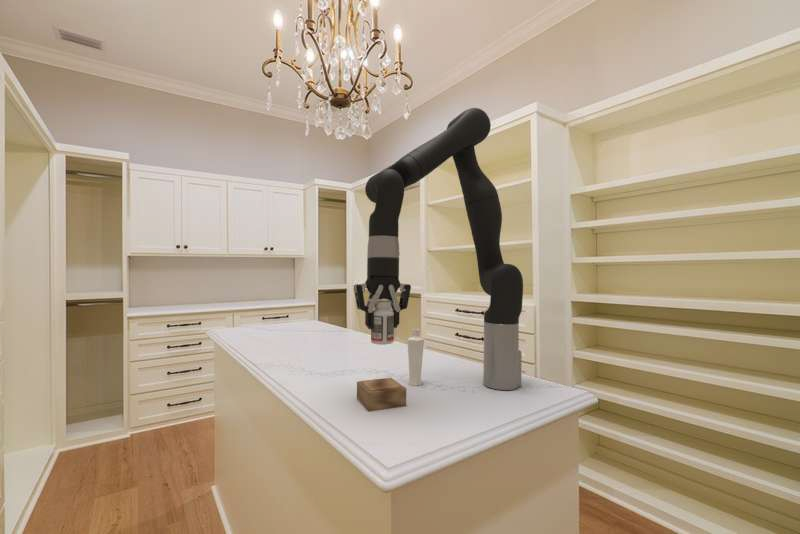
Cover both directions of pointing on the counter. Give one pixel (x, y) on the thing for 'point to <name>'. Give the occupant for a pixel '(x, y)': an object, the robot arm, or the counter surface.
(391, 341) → the pill bottle
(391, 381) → the base block
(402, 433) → the counter surface
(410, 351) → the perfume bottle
